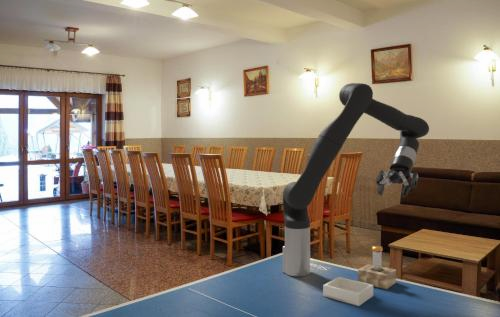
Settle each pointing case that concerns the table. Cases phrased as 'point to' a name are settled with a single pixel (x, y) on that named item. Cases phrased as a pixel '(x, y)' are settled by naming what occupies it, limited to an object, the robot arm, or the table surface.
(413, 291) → the table surface
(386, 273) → the block
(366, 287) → the tray
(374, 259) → the lock pin
